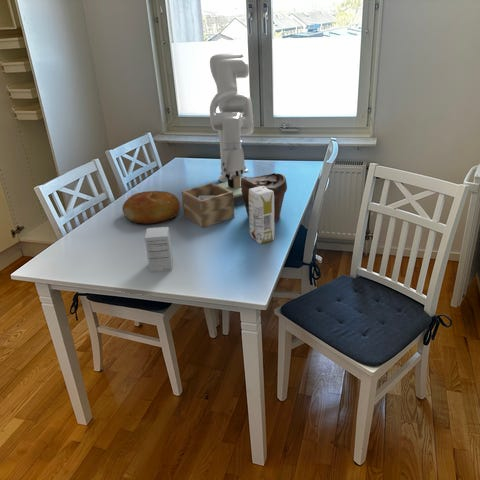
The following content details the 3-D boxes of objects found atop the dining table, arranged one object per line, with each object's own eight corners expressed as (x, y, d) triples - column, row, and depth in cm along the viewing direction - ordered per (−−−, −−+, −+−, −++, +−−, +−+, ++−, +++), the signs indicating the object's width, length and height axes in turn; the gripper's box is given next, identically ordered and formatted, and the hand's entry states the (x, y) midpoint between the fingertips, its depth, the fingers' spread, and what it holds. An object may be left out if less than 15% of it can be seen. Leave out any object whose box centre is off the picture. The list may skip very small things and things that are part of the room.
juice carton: (258, 245, 157) (257, 195, 149) (247, 236, 164) (245, 188, 156) (277, 240, 160) (276, 191, 152) (265, 231, 167) (264, 184, 159)
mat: (238, 188, 211) (238, 187, 211) (259, 197, 199) (259, 196, 199) (210, 196, 203) (210, 195, 202) (230, 206, 191) (230, 205, 191)
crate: (214, 206, 191) (212, 182, 186) (234, 217, 180) (233, 192, 175) (184, 216, 184) (181, 191, 179) (203, 227, 173) (200, 201, 168)
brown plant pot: (294, 210, 184) (293, 169, 176) (277, 230, 168) (275, 185, 160) (254, 205, 191) (252, 165, 183) (234, 224, 175) (231, 181, 167)
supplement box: (151, 261, 150) (146, 227, 144) (173, 259, 151) (169, 226, 145) (149, 272, 144) (144, 237, 138) (172, 270, 144) (167, 236, 138)
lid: (238, 180, 209) (238, 168, 207) (261, 189, 197) (260, 176, 194) (208, 188, 201) (207, 176, 198) (229, 198, 188) (229, 185, 186)
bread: (150, 202, 200) (147, 181, 196) (191, 210, 189) (189, 188, 184) (113, 220, 183) (109, 198, 178) (156, 231, 172) (153, 207, 167)
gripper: (242, 140, 197) (243, 180, 205) (211, 147, 189) (214, 188, 197) (252, 143, 192) (253, 184, 200) (221, 150, 183) (223, 192, 191)
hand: (234, 185), depth 198 cm, fingers closed on lid, 3 cm apart
